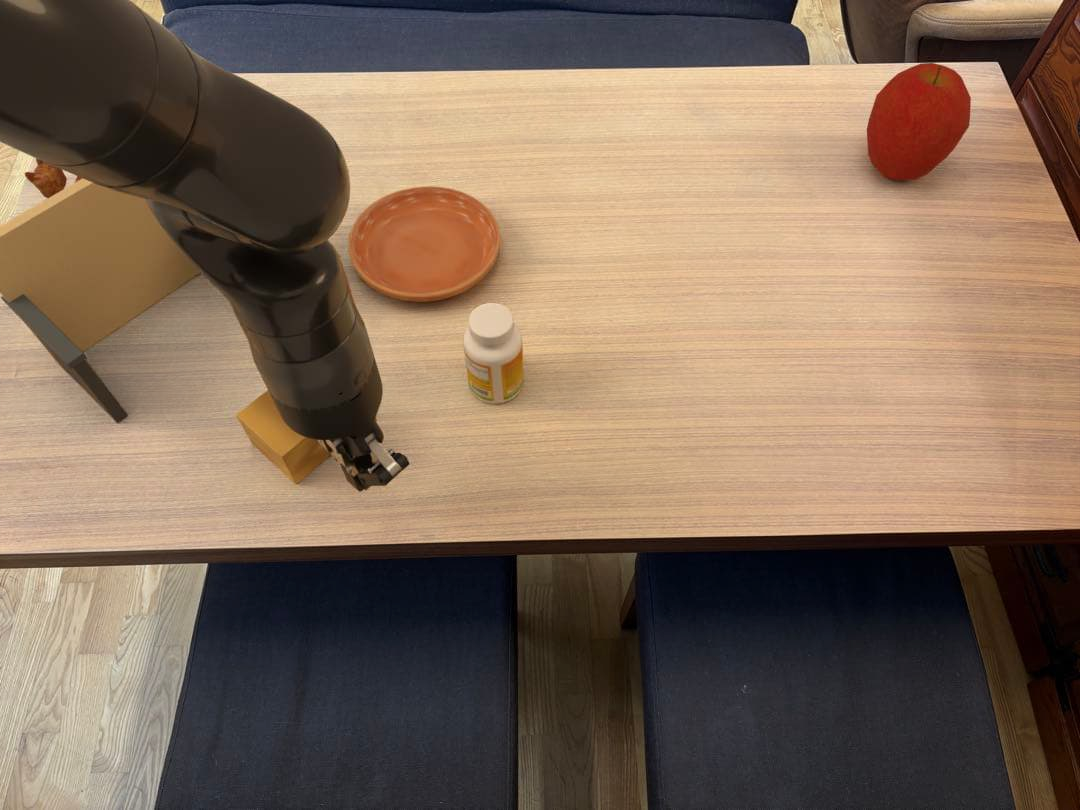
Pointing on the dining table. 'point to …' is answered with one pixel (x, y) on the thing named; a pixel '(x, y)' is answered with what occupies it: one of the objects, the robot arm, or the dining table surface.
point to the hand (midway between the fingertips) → (363, 480)
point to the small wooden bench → (87, 273)
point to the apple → (917, 121)
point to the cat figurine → (48, 178)
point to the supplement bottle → (493, 354)
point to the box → (280, 439)
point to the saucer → (424, 243)
